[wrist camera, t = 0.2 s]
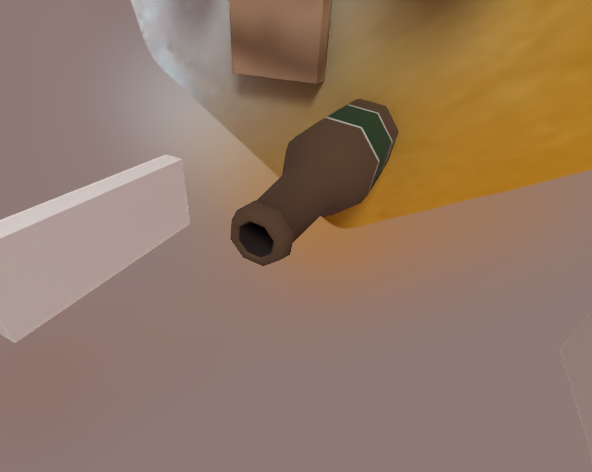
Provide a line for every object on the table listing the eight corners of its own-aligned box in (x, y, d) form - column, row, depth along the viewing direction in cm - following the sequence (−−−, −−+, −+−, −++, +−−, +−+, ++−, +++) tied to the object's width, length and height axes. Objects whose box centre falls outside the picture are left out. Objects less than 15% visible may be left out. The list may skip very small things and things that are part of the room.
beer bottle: (358, 80, 33) (224, 136, 15) (416, 128, 33) (355, 246, 15) (317, 139, 38) (178, 238, 20) (368, 181, 38) (276, 320, 20)
